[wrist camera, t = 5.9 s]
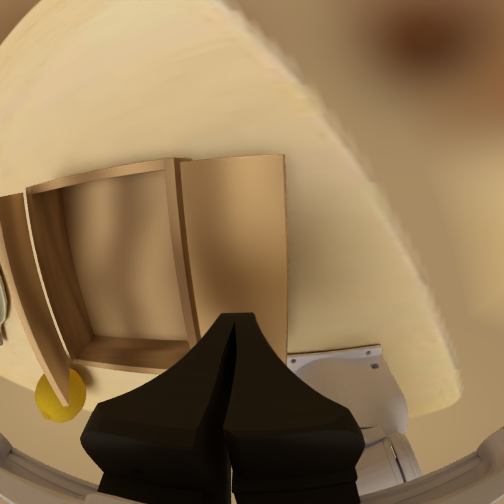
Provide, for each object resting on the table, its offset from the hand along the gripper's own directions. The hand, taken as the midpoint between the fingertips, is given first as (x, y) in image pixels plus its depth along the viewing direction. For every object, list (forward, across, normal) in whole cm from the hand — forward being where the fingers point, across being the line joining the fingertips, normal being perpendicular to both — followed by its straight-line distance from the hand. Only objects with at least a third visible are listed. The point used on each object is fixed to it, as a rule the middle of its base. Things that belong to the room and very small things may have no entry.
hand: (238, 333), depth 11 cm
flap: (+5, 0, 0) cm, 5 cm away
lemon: (+11, +20, +14) cm, 27 cm away
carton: (+10, +9, +1) cm, 14 cm away
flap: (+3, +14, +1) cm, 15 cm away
